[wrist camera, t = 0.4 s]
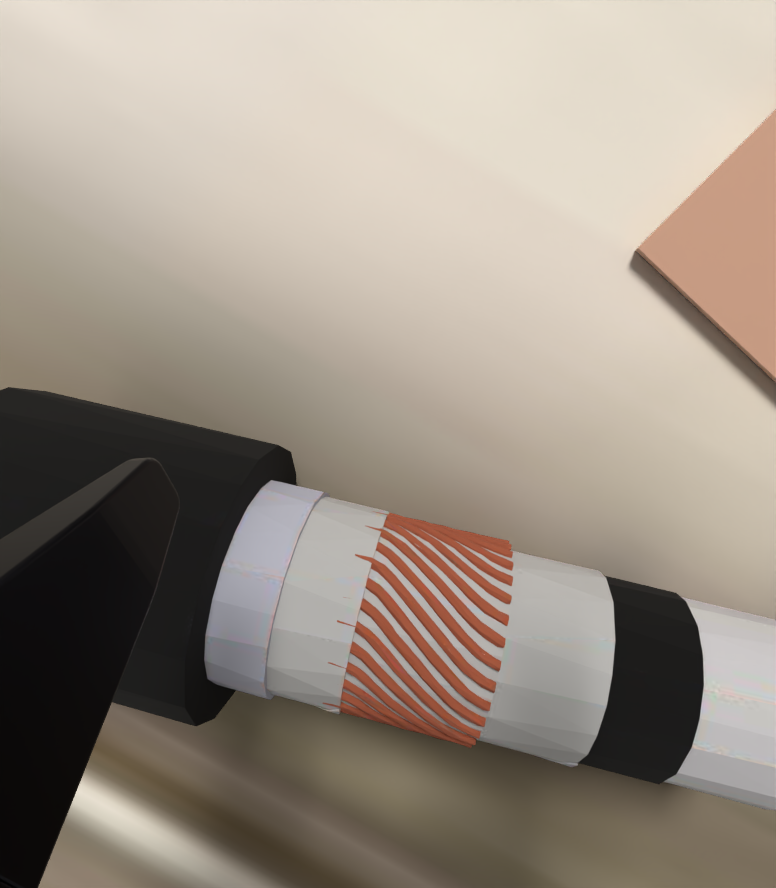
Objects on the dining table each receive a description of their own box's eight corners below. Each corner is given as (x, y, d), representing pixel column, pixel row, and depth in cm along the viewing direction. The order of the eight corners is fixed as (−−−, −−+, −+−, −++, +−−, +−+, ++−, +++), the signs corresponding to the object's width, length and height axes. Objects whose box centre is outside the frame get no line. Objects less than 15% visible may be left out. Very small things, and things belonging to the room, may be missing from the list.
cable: (794, 676, 26) (889, 967, 19) (107, 506, 29) (-45, 698, 22) (968, 540, 19) (1227, 913, 12) (49, 337, 22) (-202, 532, 15)
